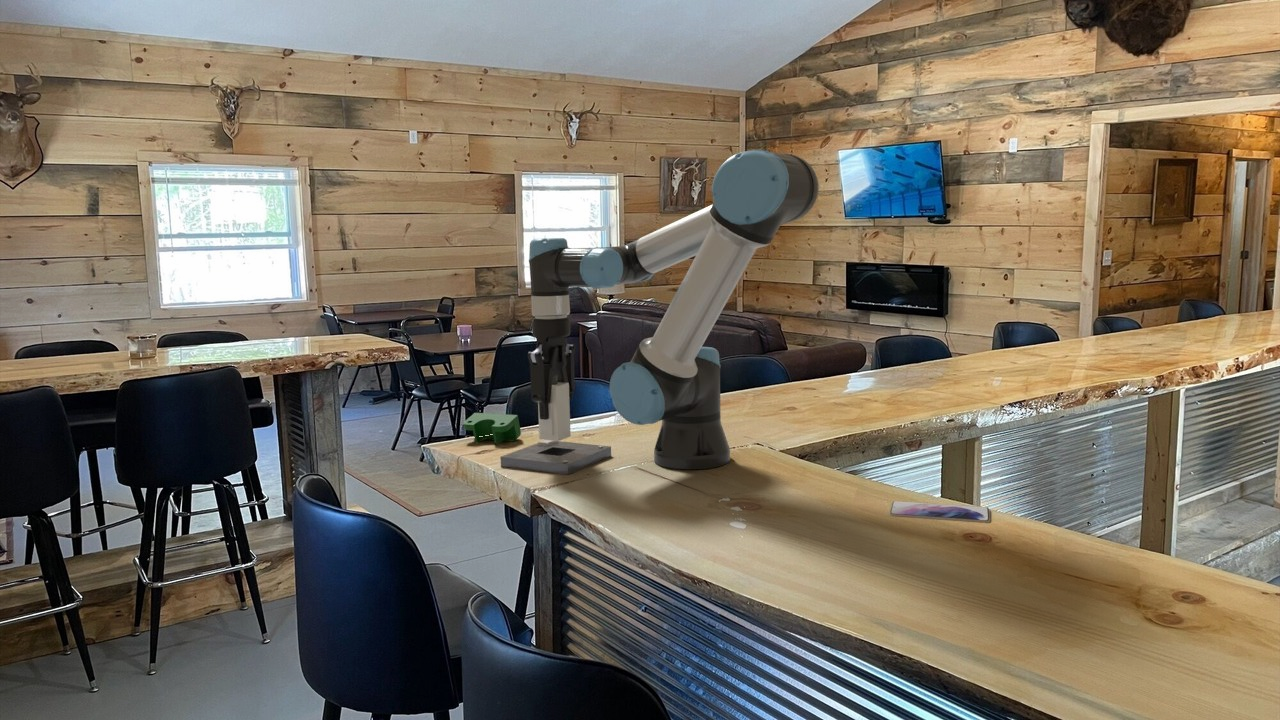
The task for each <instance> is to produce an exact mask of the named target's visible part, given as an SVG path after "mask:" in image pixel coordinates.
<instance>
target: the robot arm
mask: <svg viewBox="0 0 1280 720" xmlns="http://www.w3.org/2000/svg"><path fill="white" fill-rule="evenodd" d="M816 173H817V172H815V169H814V168H813V167H812V165H811V164H810V163H809V162H807V161H806V160H805V159H803V158H802V157H801V156H799V155H798V156H797V155H795V154H787V153H777V152H772V151H771V152H770V151H769V150H764V149H753V150H748V151H747V150H745V151H741V152H738V153H735V154H734V155H732V156H730V157H729V158H728V159H726V160H725V161H724V162H723V163H722V164H721V165H720V166H719V168H718V170H717V171H716V173H715V174H714V177H713V181H712V185H711V194H712V195H713V196H712V197H713V198H712V202H713V203H712V204H711V205H709V206H706V207H704V208H701V209H699V210H698V211H695V212H693V213H691V214H689V215H687V216H685V217H683V218H680V219H678V220H676V221H674V222H671V223H670V224H667V225H665V226H663V227H662V228H659V229H657V230H655V231H653V232H651V233H648V234H646V235H643V236H642V237H640V238H638V239H636V240H634V241H631V242H630V243H627V244H625V245H621V246H605V247H603V246H601V247H600V246H599V247H598V246H597V247H579V248H578V247H573V248H571V247H569V246H568V240H567V239H566V238H564V237H563V238H562V237H552V238H549V237H548V238H547V237H546V238H534V239H532V240H531V241H530V243H529V256H528V257H529V259H528V264H529V265H528V266H529V274H530V275H529V276H530V296H531V297H530V298H531V315H532V316H533V317H534V318H532V319H531V333H532V337H534V338H536V340H537V341H536V342H537V343H536V346H535V350H533V351H528V353H527V359H528V362H529V363H528V364H529V374H530V375H529V376H530V378H529V379H530V395H531V397H530V398H531V401H532V402H534V403H537V404H538V403H539V413H540V422H541V435H550V436H553V435H554V414H553V403H550V399H551V389H552V378H553V373H556V374H557V381H558V382H564V383H569V399H570V398H573V397H574V394H575V391H576V384H575V382H576V380H575V352H576V345H575V344H569V343H568V341H567V338H566V337H569V336H570V335H571V318H569V316H568V315H570V313H571V307H570V288H573V287H574V288H593V289H597V290H598V289H605V288H613V287H615V286H616V285H618V286H619V285H626V284H633V285H634V284H635V285H637V284H640V283H643V282H646V281H648V280H650V279H651V278H652V277H653V276H654V274H656V273H659V272H661V271H663V270H665V269H668V268H670V267H672V266H674V265H676V264H679V263H681V262H684V261H686V260H689V259H691V258H694V259H693V261H692V262H691V264H690V266H689V268H688V270H687V272H686V274H685V276H684V277H683V279H682V281H681V283H680V285H679V287H678V289H677V291H676V293H675V295H674V296H673V298H672V300H671V302H670V304H669V306H668V308H667V310H666V312H665V313H664V315H663V317H662V319H661V321H660V323H659V325H658V326H657V329H656V330H655V332H654V335H653V336H652V337H647V338H643V340H641V341H640V343H639V345H638V347H637V349H636V350H635V352H634V354H633V356H632V358H631V360H630V361H628V362H624V363H621V365H619V366H618V367H617V368H616V369H615V370H614V371H613V373H612V375H611V376H610V381H609V389H608V390H609V394H610V396H609V397H611V399H612V400H611V401H612V402H611V403H612V404H613V407H614V408H615V410H616V411H617V414H619V415H620V417H622V419H624V420H626V421H627V422H629V423H631V424H633V425H637V426H638V425H639V426H645V425H653V424H656V423H658V422H661V425H660V429H659V432H658V437H657V439H656V442H655V445H654V446H655V447H654V448H653V449H654V451H653V459H654V460H653V461H654V463H655V464H657V465H658V466H661V467H664V468H668V469H669V468H670V469H677V470H704V469H705V470H706V469H713V468H718V467H721V466H724V465H726V464H728V463H730V461H731V450H730V445H729V442H728V440H727V436H726V434H725V430H724V428H723V424H722V421H721V415H722V414H721V369H722V368H721V366H722V365H721V364H720V353H719V350H717V348H714V347H709V346H703V345H704V344H705V341H706V340H707V338H708V336H709V335H710V333H711V331H712V329H713V328H714V325H715V324H716V322H717V320H718V319H719V317H720V315H721V313H722V312H723V309H724V308H725V306H726V304H727V303H728V301H729V299H730V297H731V295H732V294H733V292H734V290H735V288H736V286H737V285H738V283H739V281H740V279H741V277H742V276H743V274H744V272H745V271H746V269H747V266H748V265H749V263H750V261H752V258H753V256H754V254H755V253H756V251H757V249H759V248H763V247H767V246H769V245H770V244H771V242H772V240H773V239H774V237H775V235H776V234H777V232H778V230H779V228H780V226H782V225H785V224H789V223H793V222H796V221H798V220H800V219H802V218H803V217H804V216H805V217H806V215H808V213H809V212H810V211H811V210H812V209H813V208H814V206H815V204H816V201H817V199H818V196H819V187H820V186H819V180H818V176H817V174H816Z"/></svg>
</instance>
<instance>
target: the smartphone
mask: <svg viewBox="0 0 1280 720" xmlns="http://www.w3.org/2000/svg"><path fill="white" fill-rule="evenodd" d="M888 515H889V516H891V517H897V518H898V517H901V518H913V519H924V520H925V519H927V520H943V521H953V522H955V521H956V522H968V523H969V522H970V523H983V524H990V523H991V511H990V507H987V506H976V505H964V504H963V505H961V504H948V503H947V504H945V503H934V502H933V503H931V502H930V503H929V502H920V501H919V502H918V501H904V500H903V501H901V500H894V501H892V502H891V506H890V510H889V514H888Z"/></svg>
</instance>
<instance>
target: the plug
mask: <svg viewBox="0 0 1280 720" xmlns="http://www.w3.org/2000/svg"><path fill="white" fill-rule="evenodd" d="M569 387H570V386H569V383H564V382H558V381H557V374H556V373H553V378H552V389H551V399H550V403H553V414H554V435H553V436H550V435H541V422H540V413H539V403H537V406H538V407H537V409H538V411H537V412H538V415H537V416H538V429H539V430H538V432H539V433H538V435H539V440H553V441H562V440H566V439H567V438H570V437H571V413H570V411H571V408H570V398H569Z"/></svg>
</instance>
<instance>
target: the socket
mask: <svg viewBox="0 0 1280 720" xmlns="http://www.w3.org/2000/svg"><path fill="white" fill-rule="evenodd" d="M610 457H612V446H609V445H600V444H591V443H590V444H588V443H579V442H572V441H569V442H568V441H562V440H560V441H553V440H544V439H542V440H540V441H538V442H537V443H534V444H532V445H528V446H527V447H523V448H521V449H518V450H515V451H513V452H510V453H507V454H503V455H502V456H500V467H501V466H503V467H502V468H509V467H510V468H511V469H517V468H519V470H525V469H526V470H527V471H533V470H535V471H534V472H541V471H542V473H543V472H544V473H549V474H559V475H567V476H569V475H570V474H573V473H575V472H578V471H580V470H582V469H585V468H587V467H588V466H592V465H594V464H595V463H599V462H601V461H604V460H605V459H607V458H608V459H609V458H610ZM510 468H509V469H510Z"/></svg>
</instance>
